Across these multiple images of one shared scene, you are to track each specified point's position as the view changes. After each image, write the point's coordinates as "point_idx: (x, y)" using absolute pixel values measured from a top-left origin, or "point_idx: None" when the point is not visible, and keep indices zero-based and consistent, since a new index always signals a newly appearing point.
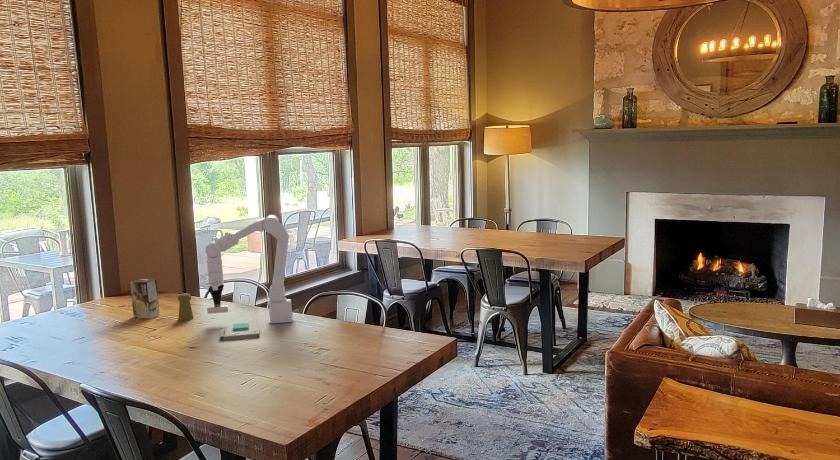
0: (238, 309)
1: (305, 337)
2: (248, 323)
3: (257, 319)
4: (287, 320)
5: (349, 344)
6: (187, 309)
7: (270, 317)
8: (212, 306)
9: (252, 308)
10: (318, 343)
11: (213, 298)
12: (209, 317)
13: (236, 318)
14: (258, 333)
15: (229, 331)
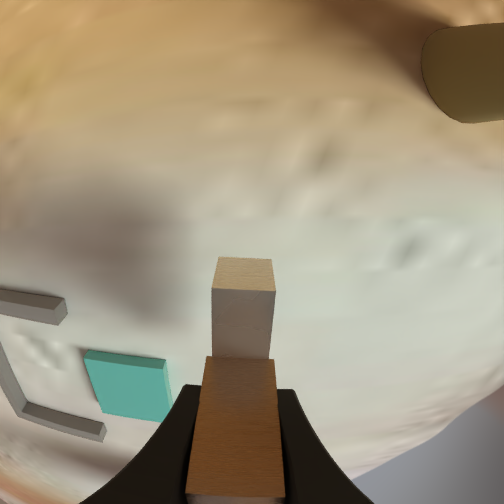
0: (478, 364)
1: (44, 472)
2: None
3: None
4: None
5: (23, 489)
6: (483, 76)
7: None
8: (255, 340)
9: (451, 411)
10: (14, 468)
11: (152, 442)
12: (437, 226)
13: (331, 375)
14: (17, 415)
15: (81, 334)
